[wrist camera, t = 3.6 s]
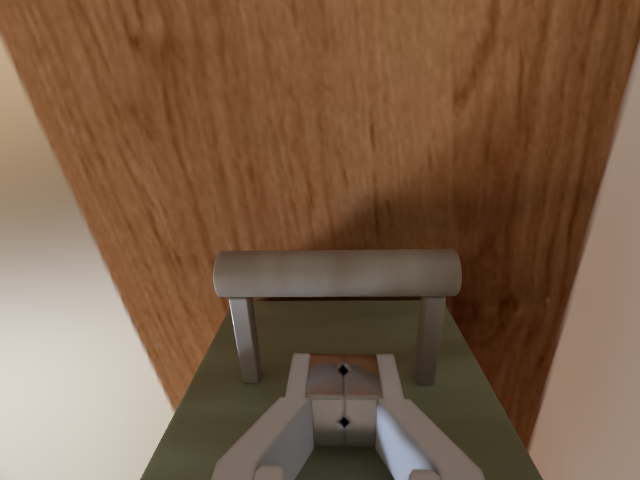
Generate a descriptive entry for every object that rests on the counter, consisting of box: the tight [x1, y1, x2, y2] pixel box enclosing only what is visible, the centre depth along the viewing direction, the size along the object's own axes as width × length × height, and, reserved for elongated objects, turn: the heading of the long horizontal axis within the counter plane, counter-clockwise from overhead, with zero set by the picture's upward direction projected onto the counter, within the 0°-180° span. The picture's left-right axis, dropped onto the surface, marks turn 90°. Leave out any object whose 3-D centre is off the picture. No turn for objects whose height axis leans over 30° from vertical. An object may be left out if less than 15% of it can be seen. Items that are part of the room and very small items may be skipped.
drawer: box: [140, 249, 543, 480], centre depth 13 cm, size 18×10×9 cm, turn 2°
